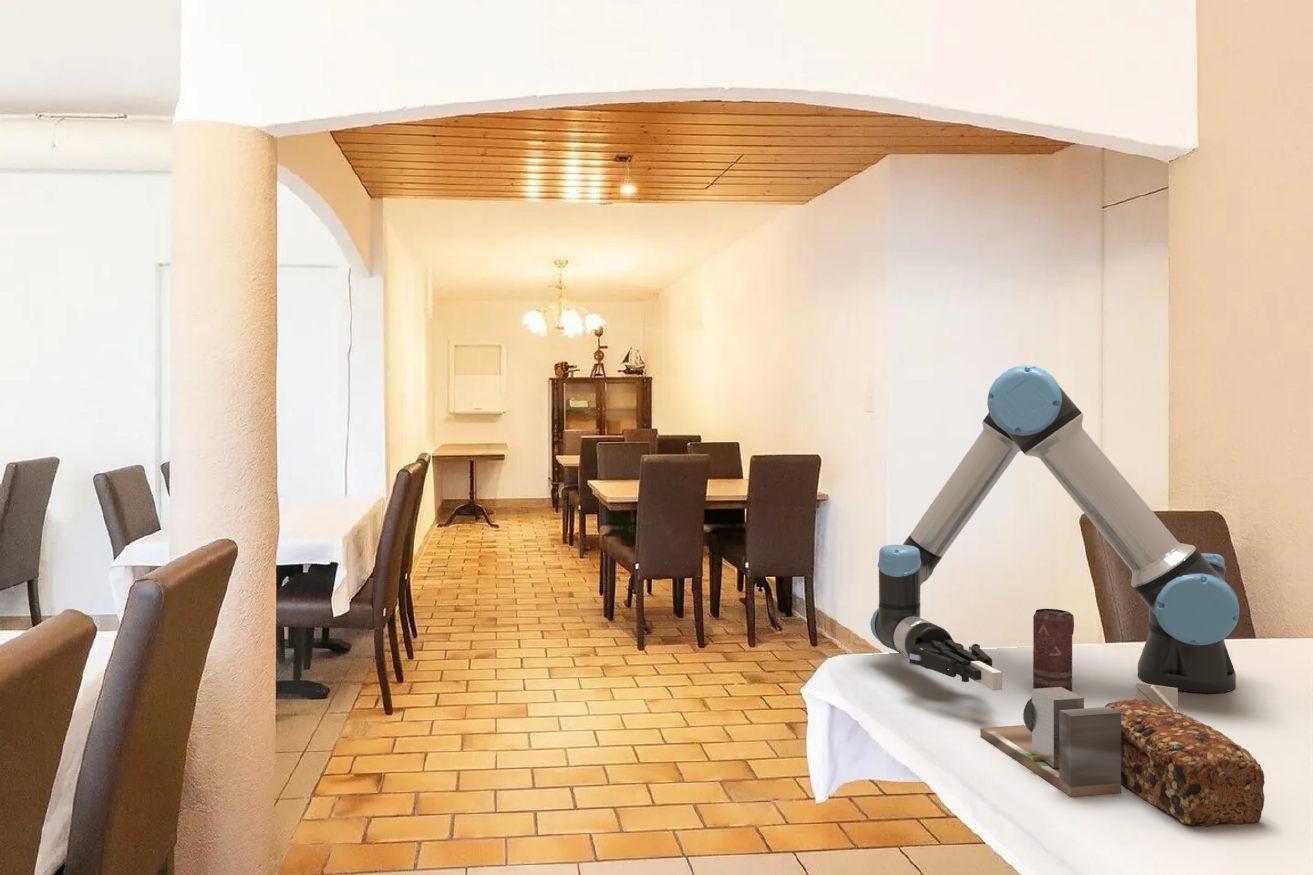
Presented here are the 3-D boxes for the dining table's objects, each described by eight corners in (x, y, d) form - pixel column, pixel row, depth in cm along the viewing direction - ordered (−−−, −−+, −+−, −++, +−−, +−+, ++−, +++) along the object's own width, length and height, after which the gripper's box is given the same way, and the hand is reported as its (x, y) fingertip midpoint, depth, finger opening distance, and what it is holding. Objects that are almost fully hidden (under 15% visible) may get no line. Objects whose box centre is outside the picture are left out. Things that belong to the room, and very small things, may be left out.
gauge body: (980, 735, 137) (980, 668, 137) (1023, 732, 138) (1023, 665, 138) (1070, 796, 115) (1070, 716, 115) (1121, 792, 116) (1121, 712, 116)
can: (1077, 698, 154) (1077, 615, 153) (1037, 696, 155) (1037, 614, 155) (1069, 688, 160) (1069, 608, 159) (1030, 686, 161) (1030, 607, 161)
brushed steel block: (1017, 752, 126) (1017, 687, 126) (1062, 749, 127) (1063, 684, 127) (1042, 768, 121) (1042, 700, 120) (1089, 764, 122) (1089, 697, 121)
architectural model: (1176, 744, 134) (1177, 694, 134) (1124, 735, 138) (1124, 686, 138) (1179, 737, 137) (1179, 688, 136) (1127, 729, 141) (1127, 681, 140)
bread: (1091, 769, 124) (1091, 695, 124) (1165, 765, 125) (1165, 692, 125) (1184, 831, 106) (1184, 745, 106) (1270, 826, 107) (1270, 741, 107)
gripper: (958, 661, 163) (1036, 702, 140) (889, 666, 161) (957, 708, 138) (958, 619, 163) (1036, 654, 140) (889, 623, 161) (957, 659, 137)
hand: (997, 681), depth 139 cm, fingers closed
